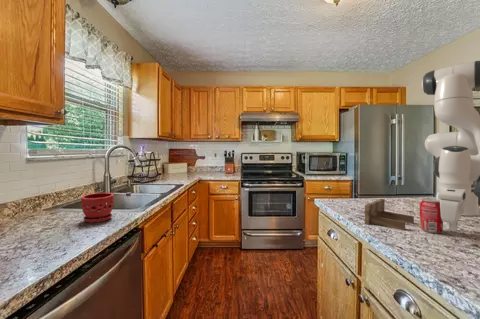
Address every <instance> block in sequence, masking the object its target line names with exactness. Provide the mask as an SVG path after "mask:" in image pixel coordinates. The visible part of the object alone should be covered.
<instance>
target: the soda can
mask: <svg viewBox="0 0 480 319" xmlns="http://www.w3.org/2000/svg"><path fill="white" fill-rule="evenodd" d="M418 223H419V229H421V230H422V231H423V232H426V233H429V232H430V233H431V234H440V233H441V232H443V229H444V221H442V219H441V211H440V200H438V199H437V198H431V197H430V198H429V197H427V198H425V197H423V198H421V201H420V203H419V221H418Z"/></svg>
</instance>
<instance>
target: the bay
mask: <svg viewBox="0 0 480 319" xmlns="http://www.w3.org/2000/svg"><path fill="white" fill-rule="evenodd" d="M385 202H386V200H385V199H384V198H380V199H377V200H374V201H370V202H369V203H367V204H365V205H364V224H365V225H371V224H372V225H378V226H382V227H387V228H392V229H396V230H399V231H400V230H401V231H405V230H406V224H410V223H411V225H413V224H415V219H414V218H415V216H414V215H411V214H410V215H409V214H404V213H396V212H391V211H386V210H385V208H386V207H385V204H386V203H385Z"/></svg>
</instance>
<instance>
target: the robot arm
mask: <svg viewBox="0 0 480 319" xmlns="http://www.w3.org/2000/svg"><path fill="white" fill-rule="evenodd" d="M479 88H480V60H475V61H472V62H465V63H464V62H463V63H458V64H454V65H450V66H446V67H442V68H439V69H436V70H431V71H428V72H426V73H425V74H424V75H423V77H422V79H421V89H422V91H423V93H424V94H426V95H427V96H428V95H429V96H434V100H433V103H434V104H433V106H434V107H433V110H434V116H435V118H436V119H438V120H439V122H441V123H444V124H445V125H447V126H450V127H452V128H453V127H454V128H455V129H457V130H458V131H444V132H437V133H432V134H430V135H428V136H427V137H426V138H425V140H424V148H425V149H426V151H427V152H428V153H429V154H431V155H432V156H434V157H435V159H433V173H432V174H433V175H434V176H436V177H437V178H439V179H438V183H437V185H438V186H437V193H436V199H438V200H440V211H441V219H442V221H443V223H448V226H449V229H448V230H449V231H454V232H455V231H457V229H458V223H459V219H460V218H461V217H462V216H466V217H467V216H468V217H470V216H472V217H473V216H474V217H475V216H477V217H478V216H479V217H480V204H479V197H478V196H477V195H476V194H475V193H474V192H475V188H476V187H475V184H474V182H477V183H480V111H477V109H476V108H475V107H474V95H473V94H474V92H473V89H475V90H478V89H479Z"/></svg>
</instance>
